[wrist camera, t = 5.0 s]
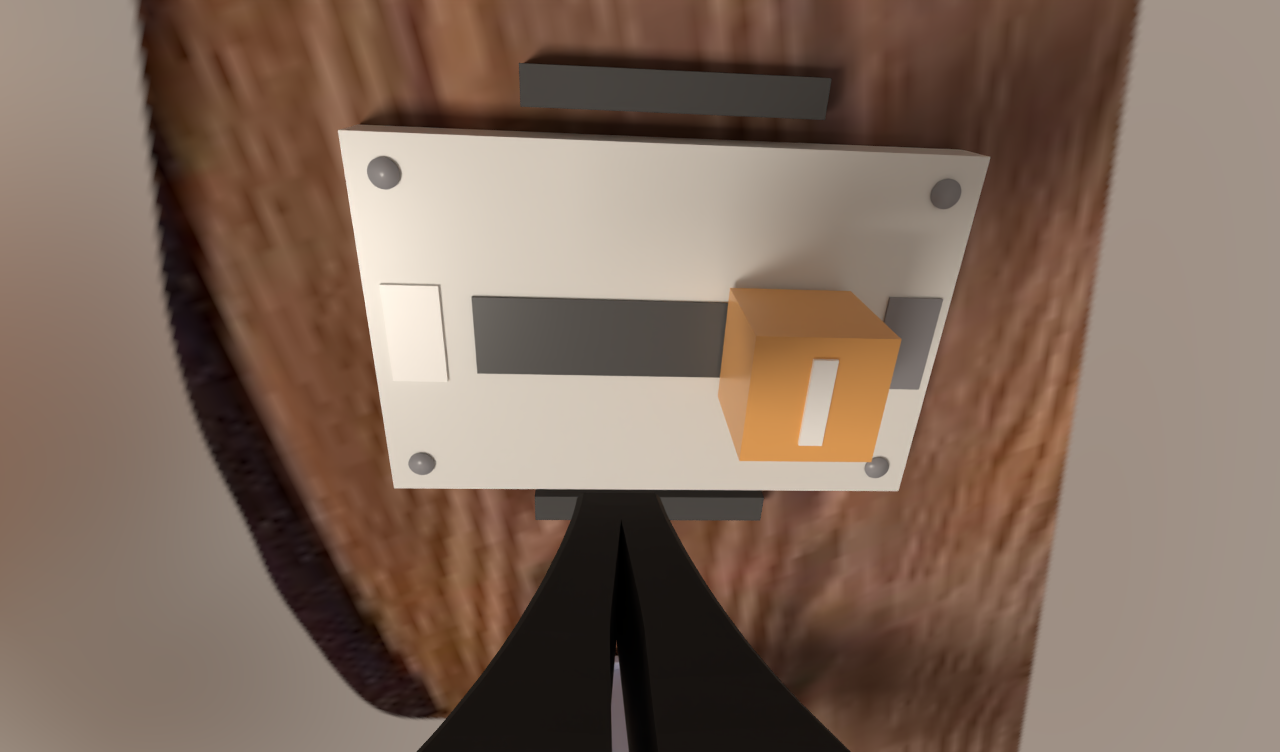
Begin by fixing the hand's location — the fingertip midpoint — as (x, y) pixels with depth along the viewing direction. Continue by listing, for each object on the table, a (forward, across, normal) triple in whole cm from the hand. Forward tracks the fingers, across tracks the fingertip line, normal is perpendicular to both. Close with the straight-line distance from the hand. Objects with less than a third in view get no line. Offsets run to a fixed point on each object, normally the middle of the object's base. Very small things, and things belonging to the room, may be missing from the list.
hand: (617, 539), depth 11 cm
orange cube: (+9, -5, 0) cm, 10 cm away
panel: (+10, -2, 0) cm, 10 cm away
